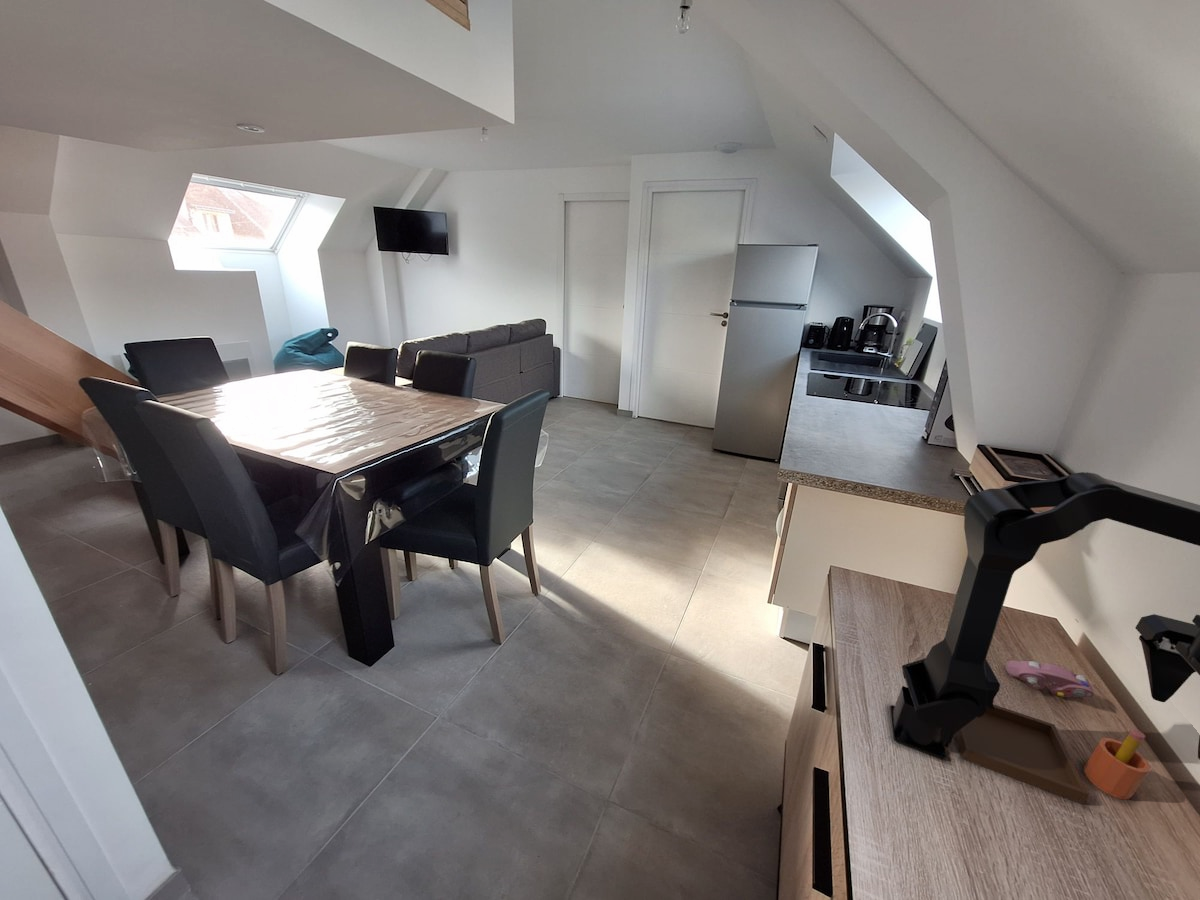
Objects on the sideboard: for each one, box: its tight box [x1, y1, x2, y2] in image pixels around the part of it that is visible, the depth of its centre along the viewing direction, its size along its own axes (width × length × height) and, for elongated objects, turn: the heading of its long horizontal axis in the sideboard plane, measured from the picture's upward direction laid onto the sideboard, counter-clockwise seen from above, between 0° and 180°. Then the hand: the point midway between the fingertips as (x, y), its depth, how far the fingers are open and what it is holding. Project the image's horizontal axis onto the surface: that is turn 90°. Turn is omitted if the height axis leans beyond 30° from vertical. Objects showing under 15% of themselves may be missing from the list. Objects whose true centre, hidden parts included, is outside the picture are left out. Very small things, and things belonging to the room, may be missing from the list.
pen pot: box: [1083, 737, 1152, 800], centre depth 62 cm, size 5×5×6 cm
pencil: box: [1114, 728, 1146, 764], centre depth 61 cm, size 1×1×9 cm
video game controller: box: [1005, 659, 1095, 699], centre depth 76 cm, size 10×5×7 cm, turn 65°
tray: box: [954, 703, 1090, 805], centre depth 67 cm, size 13×11×2 cm
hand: (1179, 728), depth 56 cm, fingers open, 9 cm apart
